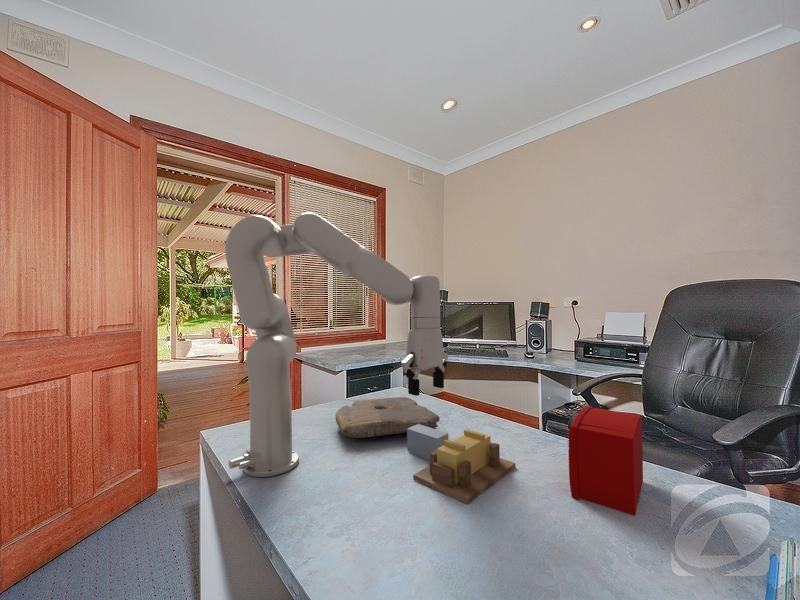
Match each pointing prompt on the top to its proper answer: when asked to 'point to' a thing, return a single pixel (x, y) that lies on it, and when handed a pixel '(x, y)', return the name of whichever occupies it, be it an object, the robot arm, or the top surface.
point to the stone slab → (383, 417)
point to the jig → (465, 476)
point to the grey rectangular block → (424, 440)
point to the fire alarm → (606, 458)
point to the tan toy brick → (465, 452)
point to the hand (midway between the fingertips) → (426, 390)
